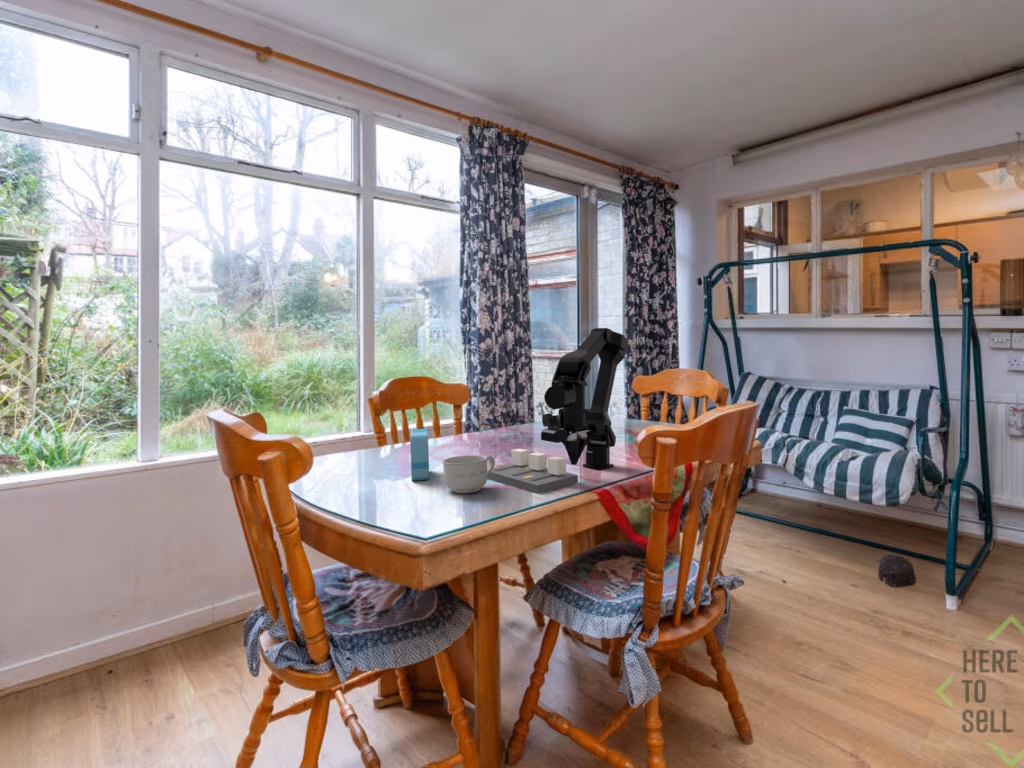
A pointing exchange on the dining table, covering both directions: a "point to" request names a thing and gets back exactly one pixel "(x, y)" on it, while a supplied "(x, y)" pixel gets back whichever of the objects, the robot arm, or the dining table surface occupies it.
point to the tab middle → (537, 461)
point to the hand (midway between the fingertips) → (573, 464)
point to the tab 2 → (556, 465)
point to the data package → (419, 454)
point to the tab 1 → (519, 457)
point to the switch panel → (530, 478)
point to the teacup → (467, 472)
